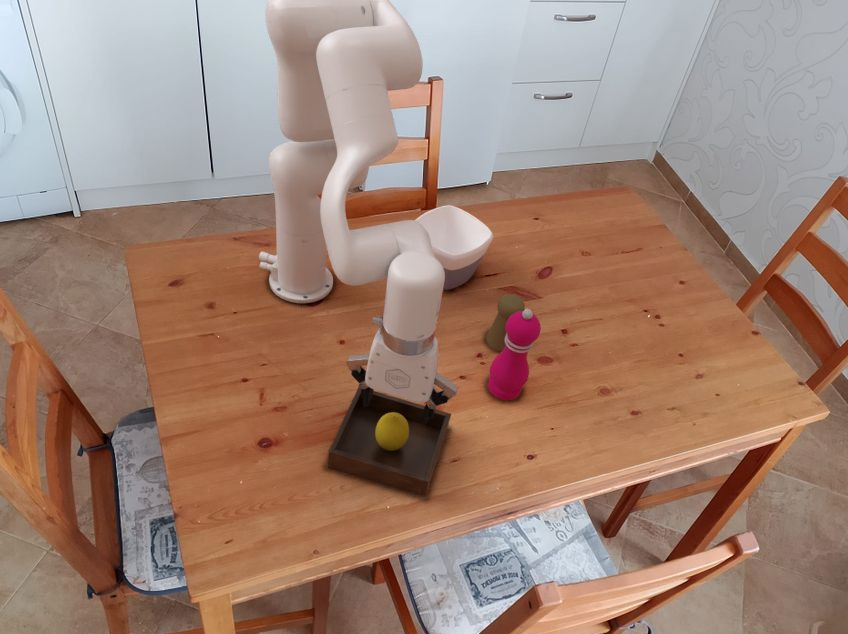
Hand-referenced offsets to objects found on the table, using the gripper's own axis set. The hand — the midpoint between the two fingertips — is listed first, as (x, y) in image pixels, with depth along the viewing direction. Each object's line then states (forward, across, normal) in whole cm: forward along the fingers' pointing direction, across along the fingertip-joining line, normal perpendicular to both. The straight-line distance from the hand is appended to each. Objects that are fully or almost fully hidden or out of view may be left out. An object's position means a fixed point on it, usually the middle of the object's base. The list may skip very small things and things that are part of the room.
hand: (396, 409), depth 115 cm
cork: (+11, +13, +33) cm, 37 cm away
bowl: (+10, -3, +49) cm, 50 cm away
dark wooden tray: (+11, 0, 0) cm, 11 cm away
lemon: (+11, 0, 0) cm, 11 cm away
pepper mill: (+11, +16, +21) cm, 28 cm away
